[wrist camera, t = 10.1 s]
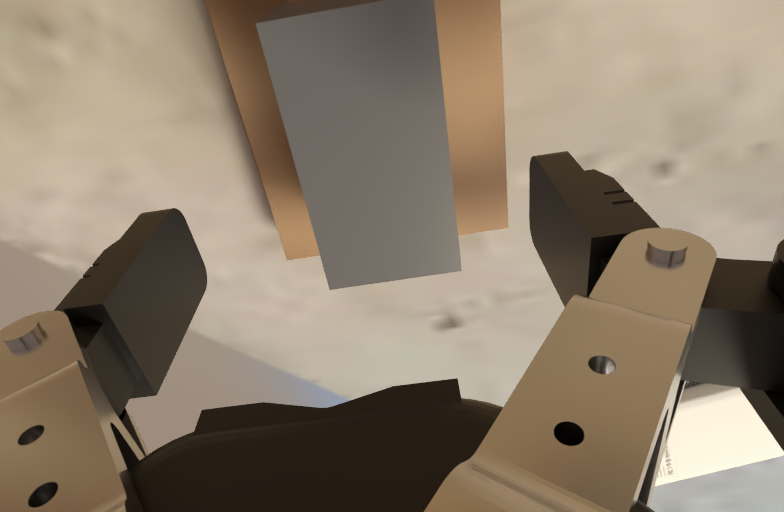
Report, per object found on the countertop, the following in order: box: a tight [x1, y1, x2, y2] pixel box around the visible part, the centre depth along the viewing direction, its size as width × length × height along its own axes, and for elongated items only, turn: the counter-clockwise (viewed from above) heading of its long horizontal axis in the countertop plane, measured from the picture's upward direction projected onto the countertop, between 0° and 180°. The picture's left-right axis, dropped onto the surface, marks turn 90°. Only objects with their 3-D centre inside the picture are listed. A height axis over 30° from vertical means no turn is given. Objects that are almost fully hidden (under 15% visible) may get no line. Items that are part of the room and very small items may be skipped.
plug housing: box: [256, 0, 462, 290], centre depth 17 cm, size 9×5×5 cm, turn 9°
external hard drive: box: [655, 383, 784, 486], centre depth 33 cm, size 2×8×12 cm
